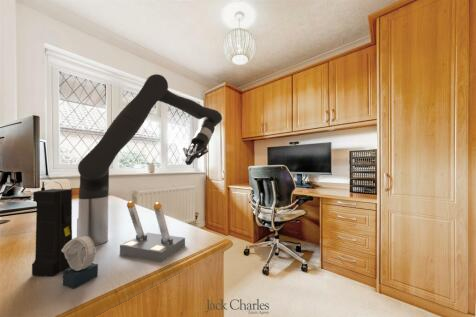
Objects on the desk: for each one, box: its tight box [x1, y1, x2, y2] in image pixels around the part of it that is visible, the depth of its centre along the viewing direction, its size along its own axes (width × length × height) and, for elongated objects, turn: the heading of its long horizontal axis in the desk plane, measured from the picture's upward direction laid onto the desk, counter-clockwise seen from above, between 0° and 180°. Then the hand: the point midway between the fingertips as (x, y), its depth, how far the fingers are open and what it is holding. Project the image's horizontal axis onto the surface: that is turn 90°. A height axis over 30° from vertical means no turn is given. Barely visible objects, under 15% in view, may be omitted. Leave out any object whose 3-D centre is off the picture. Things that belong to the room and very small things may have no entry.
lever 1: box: [126, 200, 145, 239], centre depth 66 cm, size 2×2×14 cm
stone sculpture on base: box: [62, 236, 99, 289], centre depth 49 cm, size 6×8×11 cm
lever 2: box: [153, 202, 170, 243], centre depth 63 cm, size 2×2×14 cm
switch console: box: [119, 232, 186, 263], centre depth 66 cm, size 17×12×4 cm
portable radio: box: [31, 181, 73, 278], centre depth 54 cm, size 8×6×25 cm
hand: (187, 163), depth 81 cm, fingers closed
